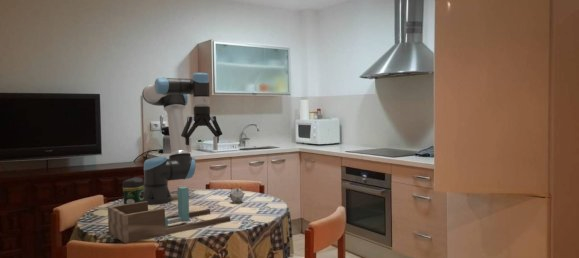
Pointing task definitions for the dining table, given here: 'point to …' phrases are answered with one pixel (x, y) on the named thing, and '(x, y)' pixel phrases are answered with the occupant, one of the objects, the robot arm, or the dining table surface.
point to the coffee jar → (133, 190)
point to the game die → (236, 195)
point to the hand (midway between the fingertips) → (202, 151)
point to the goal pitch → (149, 222)
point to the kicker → (180, 207)
